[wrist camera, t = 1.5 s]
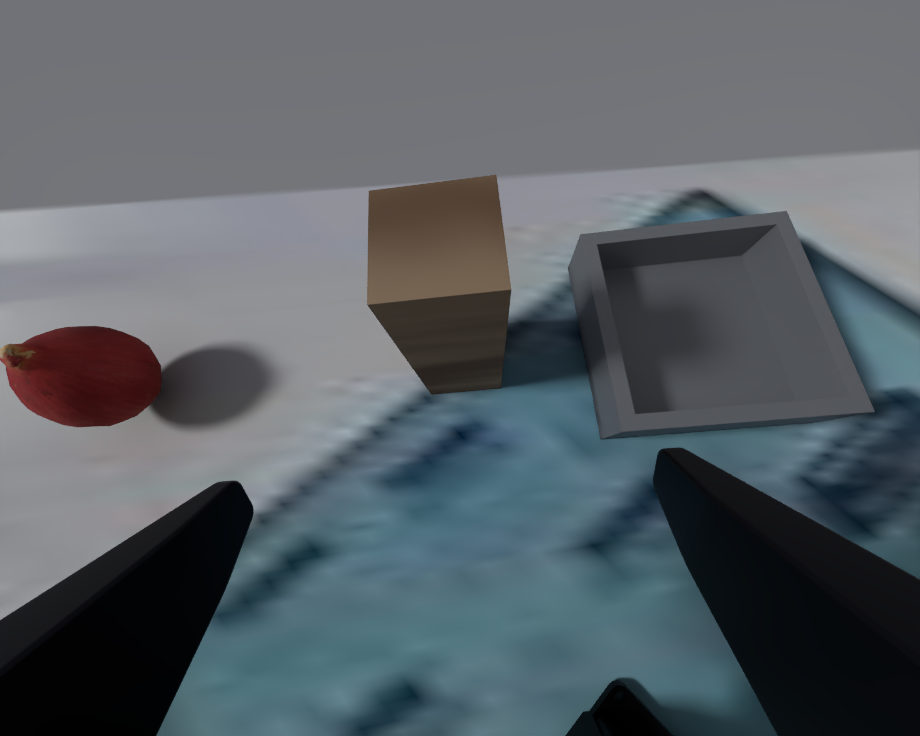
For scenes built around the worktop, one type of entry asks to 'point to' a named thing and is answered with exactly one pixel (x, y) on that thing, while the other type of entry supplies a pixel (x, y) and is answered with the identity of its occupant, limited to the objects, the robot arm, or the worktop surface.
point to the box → (708, 329)
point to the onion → (83, 375)
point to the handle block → (442, 279)
